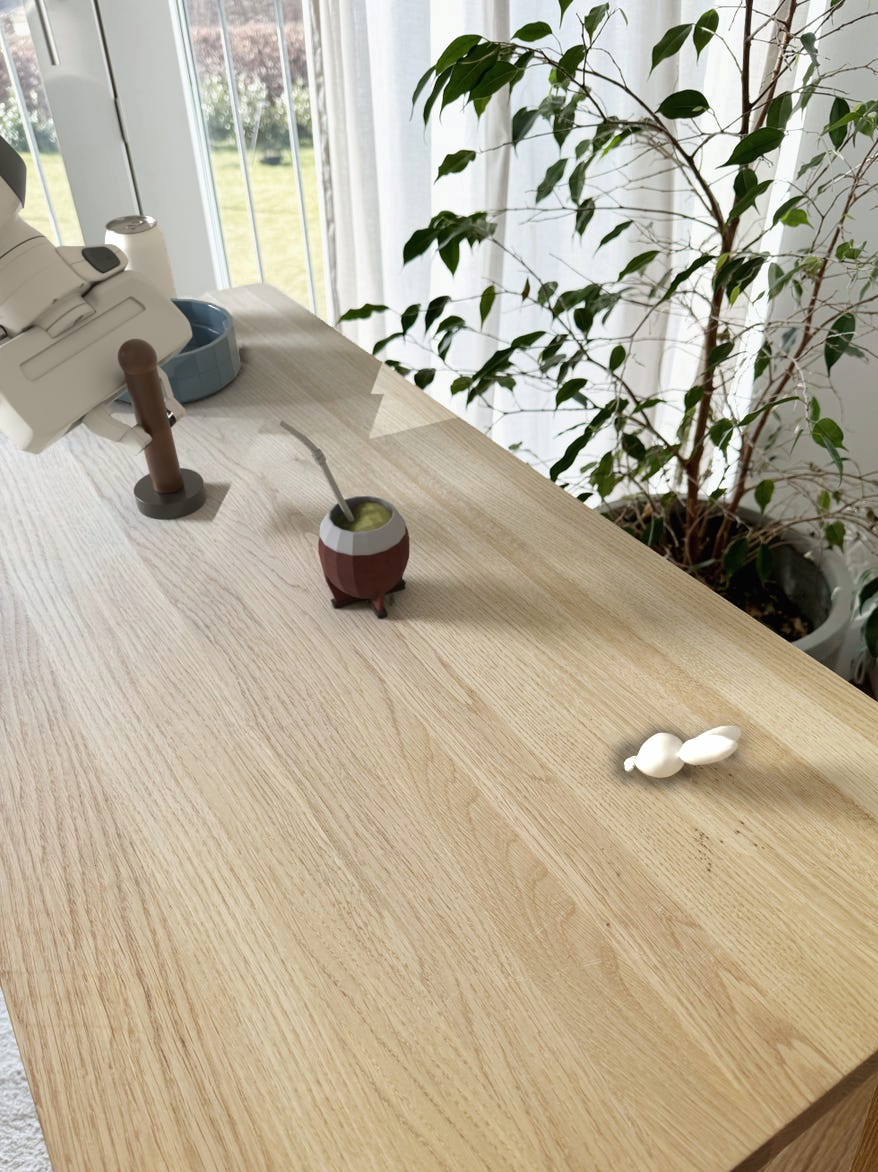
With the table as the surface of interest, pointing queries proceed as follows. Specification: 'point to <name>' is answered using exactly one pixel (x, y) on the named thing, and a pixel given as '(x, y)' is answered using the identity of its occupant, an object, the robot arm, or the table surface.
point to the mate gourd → (359, 544)
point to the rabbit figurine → (683, 751)
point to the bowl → (202, 353)
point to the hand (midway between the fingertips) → (161, 434)
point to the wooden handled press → (157, 441)
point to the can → (143, 249)
